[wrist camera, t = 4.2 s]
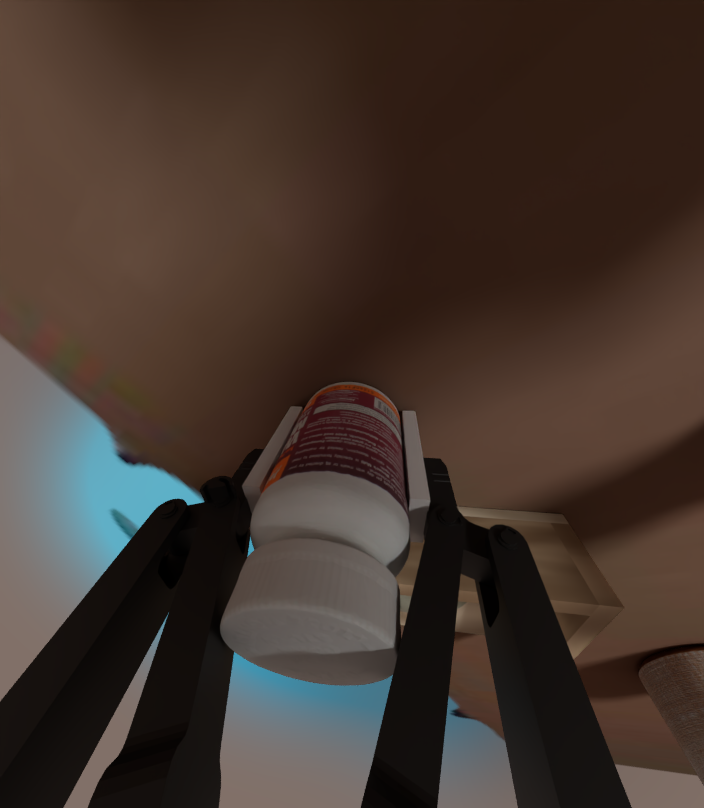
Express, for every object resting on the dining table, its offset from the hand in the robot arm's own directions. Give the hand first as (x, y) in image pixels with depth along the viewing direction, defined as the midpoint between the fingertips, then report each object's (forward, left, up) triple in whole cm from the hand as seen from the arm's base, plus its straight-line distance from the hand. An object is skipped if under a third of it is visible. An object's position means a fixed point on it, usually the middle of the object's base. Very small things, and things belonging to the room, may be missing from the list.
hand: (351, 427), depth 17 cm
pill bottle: (0, 0, -1) cm, 1 cm away
